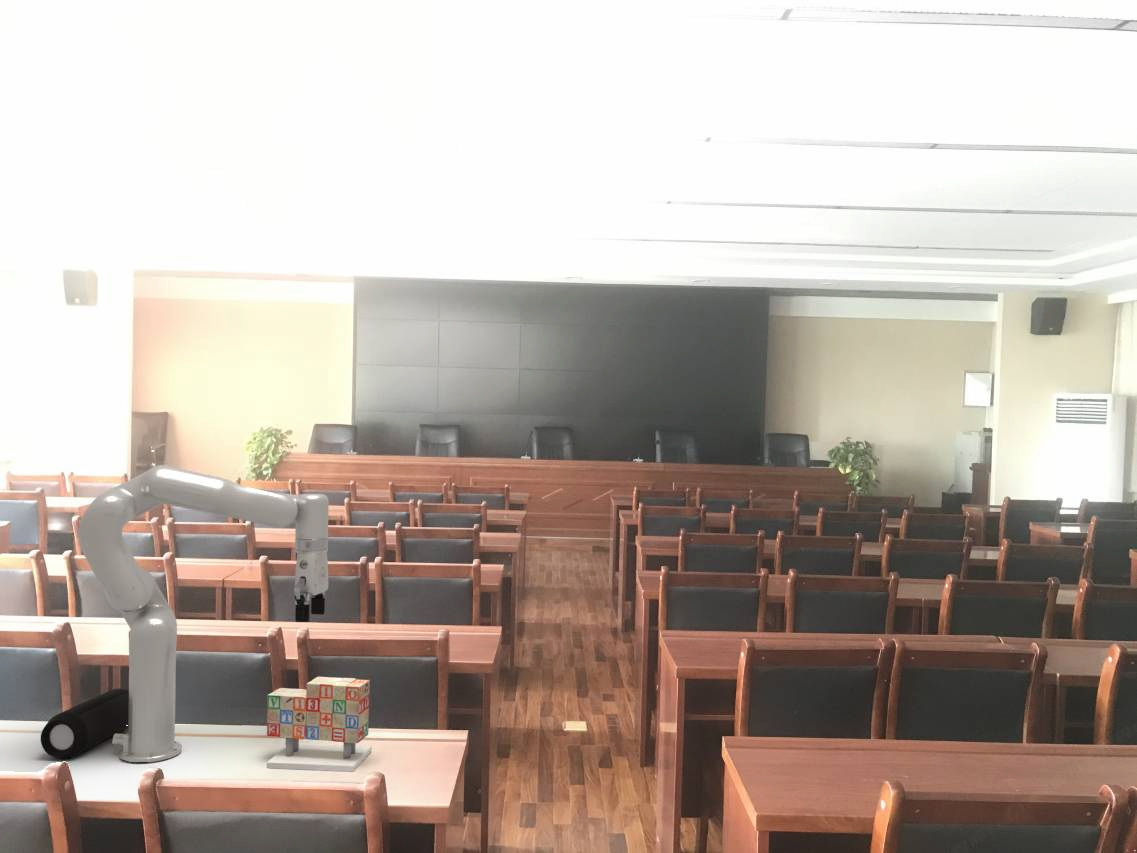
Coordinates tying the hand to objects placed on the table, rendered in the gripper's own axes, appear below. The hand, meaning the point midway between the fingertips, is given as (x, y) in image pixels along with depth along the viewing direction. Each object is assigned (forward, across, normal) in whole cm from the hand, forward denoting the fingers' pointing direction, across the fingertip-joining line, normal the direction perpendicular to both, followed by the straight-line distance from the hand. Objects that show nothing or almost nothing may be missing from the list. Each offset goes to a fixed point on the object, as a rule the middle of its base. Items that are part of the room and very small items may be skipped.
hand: (310, 617), depth 219 cm
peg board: (+28, -15, -8) cm, 33 cm away
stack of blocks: (+23, -15, -8) cm, 29 cm away
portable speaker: (+29, -10, +48) cm, 56 cm away
